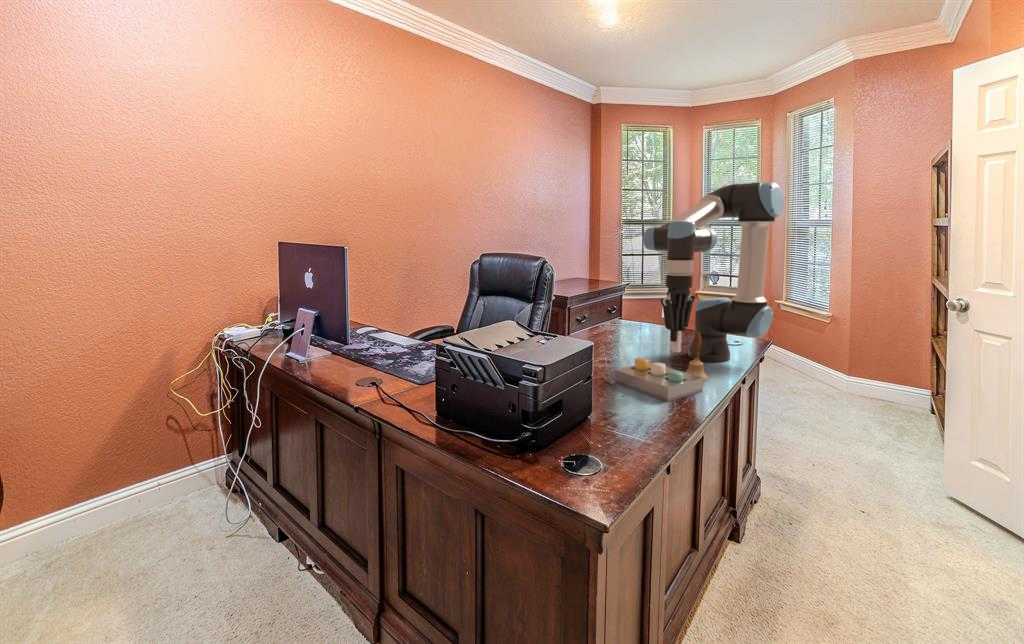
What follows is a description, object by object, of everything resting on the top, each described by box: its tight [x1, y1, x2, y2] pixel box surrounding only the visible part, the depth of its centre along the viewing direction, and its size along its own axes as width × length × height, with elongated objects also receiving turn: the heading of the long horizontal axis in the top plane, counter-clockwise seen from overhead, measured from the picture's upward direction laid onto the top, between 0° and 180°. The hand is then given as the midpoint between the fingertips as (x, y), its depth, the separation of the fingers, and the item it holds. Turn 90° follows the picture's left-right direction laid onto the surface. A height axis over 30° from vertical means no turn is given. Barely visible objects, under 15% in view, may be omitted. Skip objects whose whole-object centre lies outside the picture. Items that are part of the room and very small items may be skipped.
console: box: [614, 361, 704, 403], centre depth 162 cm, size 16×22×4 cm
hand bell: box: [685, 332, 709, 382], centre depth 170 cm, size 8×8×16 cm
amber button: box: [633, 357, 650, 372], centre depth 168 cm, size 5×5×4 cm
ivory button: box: [650, 362, 667, 377], centre depth 162 cm, size 5×5×4 cm
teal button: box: [668, 370, 684, 383], centre depth 156 cm, size 5×5×4 cm
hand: (675, 351), depth 155 cm, fingers closed
